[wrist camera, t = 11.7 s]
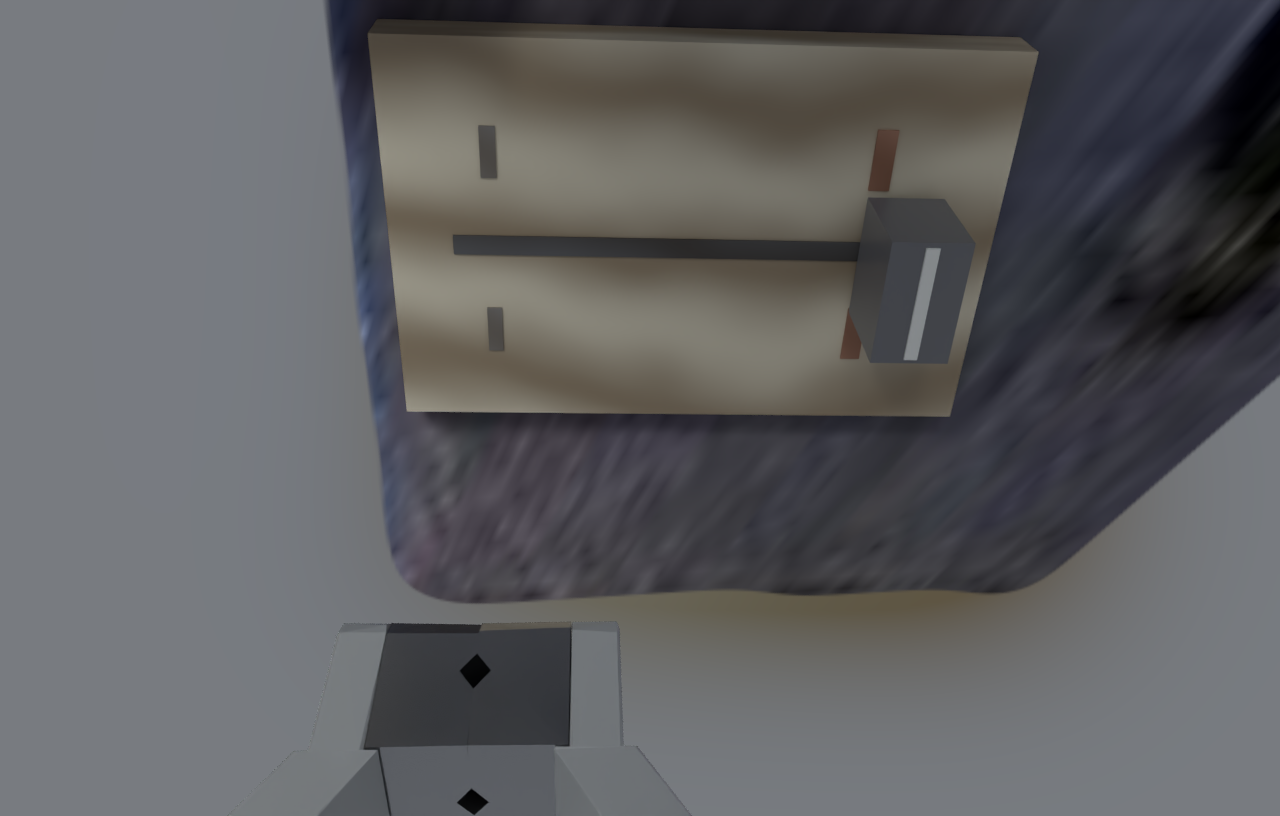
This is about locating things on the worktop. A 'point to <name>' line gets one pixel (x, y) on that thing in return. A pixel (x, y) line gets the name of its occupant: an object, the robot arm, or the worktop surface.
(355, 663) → the robot arm
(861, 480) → the worktop surface
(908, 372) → the console
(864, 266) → the fader knob
